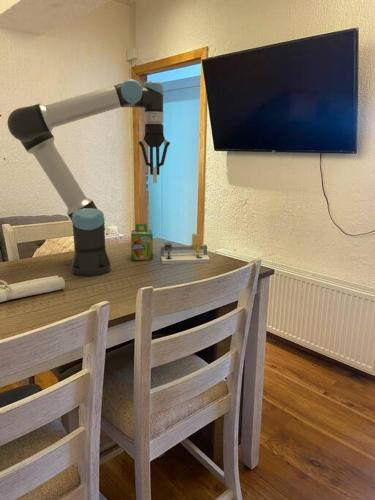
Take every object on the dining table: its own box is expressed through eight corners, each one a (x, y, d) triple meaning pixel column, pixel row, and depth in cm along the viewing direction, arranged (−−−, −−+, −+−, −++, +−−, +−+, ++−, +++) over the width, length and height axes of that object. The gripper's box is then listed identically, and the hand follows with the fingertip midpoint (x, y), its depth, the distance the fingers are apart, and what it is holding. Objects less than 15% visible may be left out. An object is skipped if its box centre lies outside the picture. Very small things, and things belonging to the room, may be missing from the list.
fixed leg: (165, 258, 160) (165, 246, 159) (164, 254, 167) (163, 242, 166) (172, 258, 160) (172, 246, 159) (170, 253, 167) (170, 242, 166)
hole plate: (162, 264, 158) (162, 251, 156) (160, 257, 167) (160, 245, 166) (209, 262, 160) (210, 249, 159) (205, 256, 170) (205, 244, 169)
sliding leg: (194, 256, 161) (194, 237, 159) (191, 252, 168) (191, 234, 166) (201, 256, 162) (201, 237, 160) (198, 252, 169) (198, 233, 167)
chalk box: (131, 261, 162) (130, 226, 159) (131, 255, 171) (130, 222, 168) (153, 260, 164) (152, 226, 160) (152, 254, 172) (151, 222, 169)
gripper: (137, 122, 150) (139, 183, 156) (170, 123, 151) (171, 183, 157) (137, 124, 157) (139, 182, 163) (169, 124, 158) (169, 182, 164)
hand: (154, 182), depth 160 cm, fingers closed
